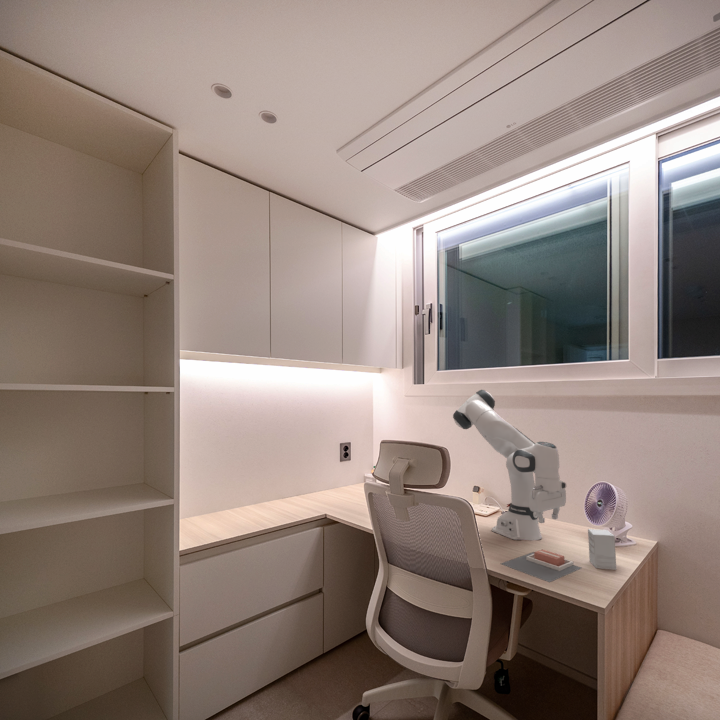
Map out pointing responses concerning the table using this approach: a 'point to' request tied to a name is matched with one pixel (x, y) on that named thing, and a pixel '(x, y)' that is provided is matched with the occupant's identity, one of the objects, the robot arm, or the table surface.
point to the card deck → (549, 557)
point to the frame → (568, 564)
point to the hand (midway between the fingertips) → (548, 520)
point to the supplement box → (602, 549)
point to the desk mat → (538, 568)
